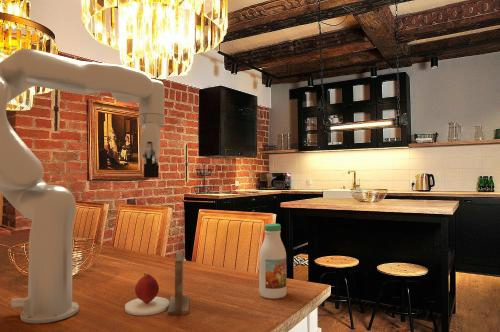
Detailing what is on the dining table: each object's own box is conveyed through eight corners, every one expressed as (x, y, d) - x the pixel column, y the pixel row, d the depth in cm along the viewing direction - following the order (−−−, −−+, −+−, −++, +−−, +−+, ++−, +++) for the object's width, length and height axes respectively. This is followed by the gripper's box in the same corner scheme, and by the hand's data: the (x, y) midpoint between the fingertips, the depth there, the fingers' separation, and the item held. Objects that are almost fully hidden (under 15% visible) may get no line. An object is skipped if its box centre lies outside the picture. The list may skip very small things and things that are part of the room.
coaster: (121, 316, 90) (121, 312, 90) (129, 301, 100) (129, 297, 100) (167, 314, 91) (167, 310, 91) (170, 299, 102) (170, 295, 102)
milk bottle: (255, 297, 104) (255, 225, 104) (264, 289, 111) (264, 222, 111) (282, 300, 101) (281, 226, 101) (289, 292, 108) (289, 223, 108)
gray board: (167, 315, 91) (167, 261, 91) (170, 298, 103) (170, 251, 103) (188, 313, 91) (188, 260, 92) (189, 297, 103) (189, 250, 104)
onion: (150, 298, 100) (150, 268, 100) (163, 302, 96) (163, 271, 97) (130, 303, 96) (131, 272, 96) (143, 309, 92) (143, 276, 92)
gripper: (142, 125, 122) (142, 177, 121) (134, 116, 105) (134, 177, 104) (166, 125, 123) (166, 177, 122) (161, 117, 106) (161, 177, 105)
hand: (151, 177), depth 113 cm, fingers open, 9 cm apart
